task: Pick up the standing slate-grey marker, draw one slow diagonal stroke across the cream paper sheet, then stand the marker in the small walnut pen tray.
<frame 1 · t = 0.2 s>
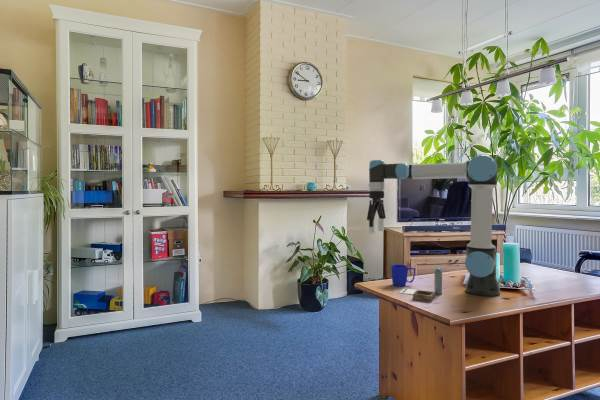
hand: (376, 232, 202), 28 cm above the table, fingers open, 13 cm apart
paper: (416, 292, 189), on the table
tray: (424, 298, 179), on the table
mug: (403, 285, 205), on the table
marker: (438, 294, 187), on the table
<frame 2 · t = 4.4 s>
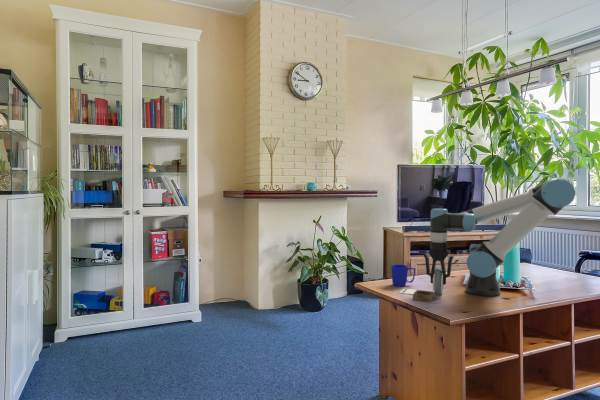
hand: (438, 290, 187), 2 cm above the table, fingers closed on marker, 3 cm apart
marker: (438, 293, 187), on the table, touching gripper
everything else where it was.
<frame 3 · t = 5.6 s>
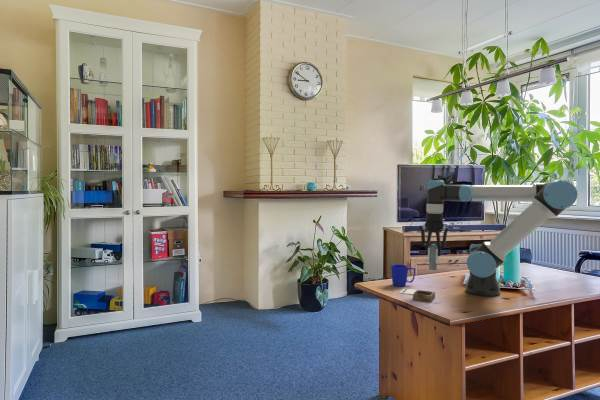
hand: (432, 262, 188), 15 cm above the table, fingers closed on marker, 3 cm apart
marker: (432, 269, 188), point 12 cm above the table, touching gripper
everything else where it was.
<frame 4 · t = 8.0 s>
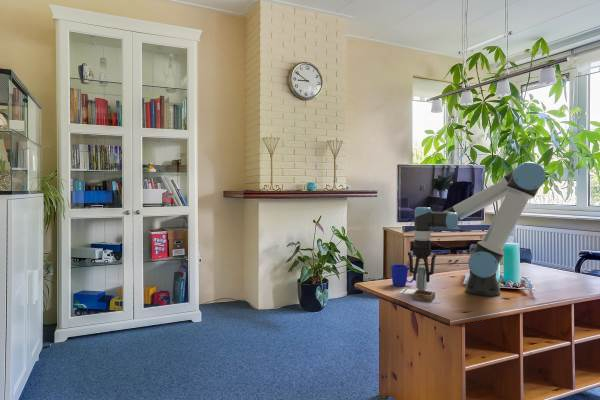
hand: (421, 288, 190), 2 cm above the table, fingers closed on marker, 3 cm apart
marker: (421, 291, 190), resting on paper, touching gripper
everything else where it was.
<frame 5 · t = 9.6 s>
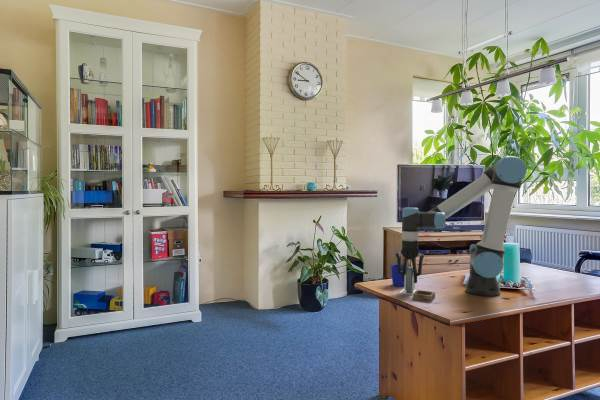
hand: (409, 289, 188), 2 cm above the table, fingers closed on marker, 3 cm apart
marker: (409, 292, 189), resting on paper, touching gripper
everything else where it was.
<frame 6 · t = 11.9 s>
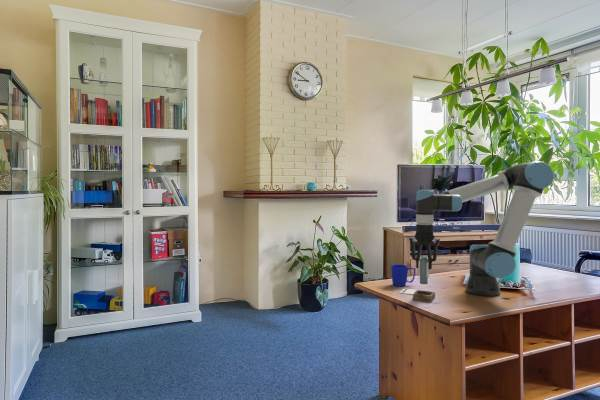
hand: (423, 275, 179), 10 cm above the table, fingers closed on marker, 3 cm apart
marker: (423, 283, 179), point 7 cm above the table, touching gripper
everything else where it was.
when the fingers open (3 cm above the table, at t = 13.1 s): marker stays where it is, resting on tray.
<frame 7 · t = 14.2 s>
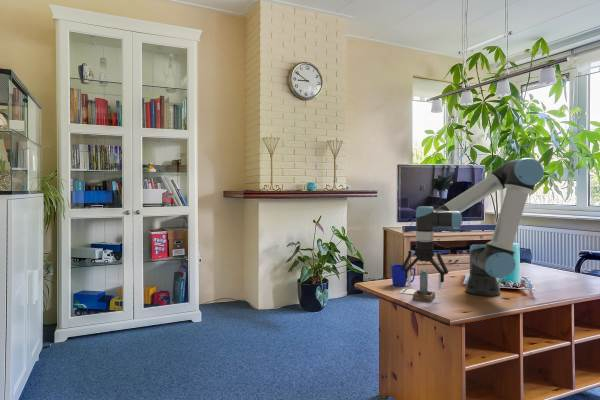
hand: (424, 287, 179), 5 cm above the table, fingers open, 13 cm apart
marker: (423, 297, 179), point 1 cm above the table, touching tray
everything else where it was.
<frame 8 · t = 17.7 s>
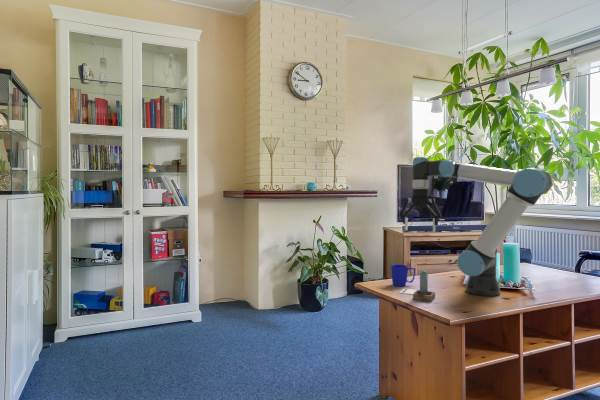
hand: (419, 231, 197), 29 cm above the table, fingers open, 13 cm apart
nothing on the table moved.
at the end: marker 0.2 cm off-centre on the tray, point 0.6 cm above the tray's base; marker tilted 0°; the gripper is holding nothing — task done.
